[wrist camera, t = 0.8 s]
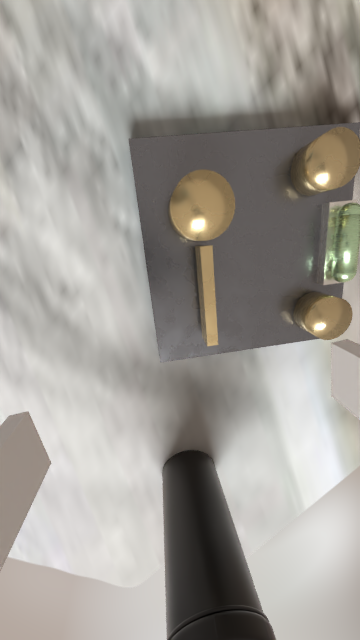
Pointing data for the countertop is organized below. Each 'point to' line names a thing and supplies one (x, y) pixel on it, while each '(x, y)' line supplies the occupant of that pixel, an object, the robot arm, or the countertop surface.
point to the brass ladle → (203, 232)
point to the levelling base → (254, 236)
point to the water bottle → (205, 559)
